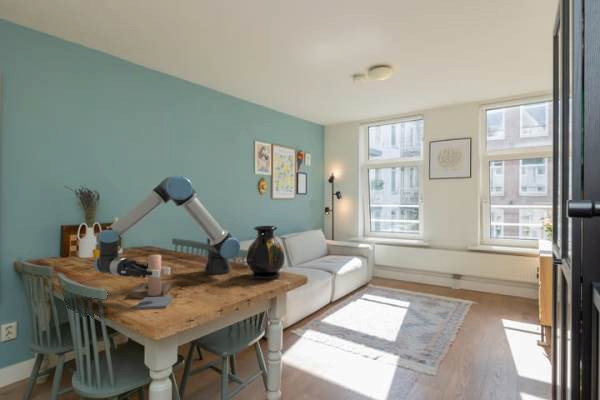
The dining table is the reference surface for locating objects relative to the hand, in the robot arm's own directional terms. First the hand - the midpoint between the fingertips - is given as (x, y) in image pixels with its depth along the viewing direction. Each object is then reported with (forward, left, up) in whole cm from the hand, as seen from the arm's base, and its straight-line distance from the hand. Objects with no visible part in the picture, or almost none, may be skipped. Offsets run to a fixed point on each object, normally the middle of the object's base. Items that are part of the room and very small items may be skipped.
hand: (164, 272), depth 131 cm
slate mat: (+4, -3, -14) cm, 15 cm away
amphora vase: (-43, -41, -14) cm, 61 cm away
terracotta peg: (+5, -3, -9) cm, 11 cm away
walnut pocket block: (+10, -18, -14) cm, 25 cm away
